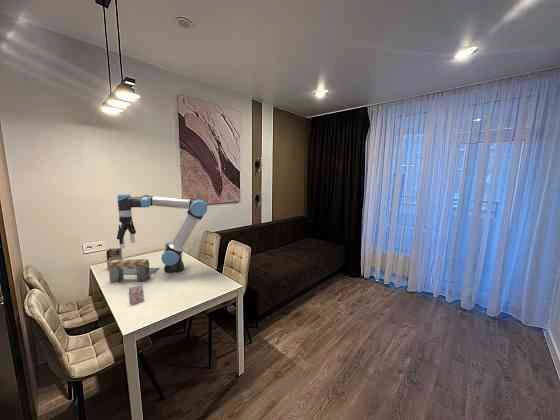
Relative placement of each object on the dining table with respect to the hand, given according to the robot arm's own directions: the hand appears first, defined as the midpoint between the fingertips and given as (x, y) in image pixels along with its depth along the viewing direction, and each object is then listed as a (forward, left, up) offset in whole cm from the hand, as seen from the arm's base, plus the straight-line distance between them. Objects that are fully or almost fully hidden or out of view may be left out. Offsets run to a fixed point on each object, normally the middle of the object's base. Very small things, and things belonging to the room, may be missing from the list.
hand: (127, 245), depth 161 cm
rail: (0, 0, -17) cm, 17 cm away
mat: (+3, -16, -27) cm, 31 cm away
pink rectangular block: (-18, +30, -27) cm, 44 cm away
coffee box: (+23, -24, -27) cm, 42 cm away
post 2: (-9, 0, -27) cm, 28 cm away
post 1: (+9, 0, -27) cm, 28 cm away
